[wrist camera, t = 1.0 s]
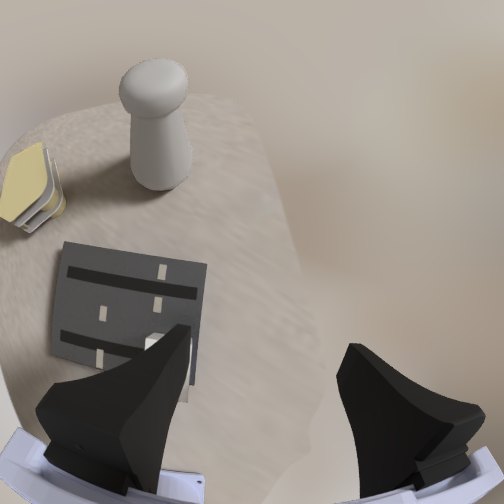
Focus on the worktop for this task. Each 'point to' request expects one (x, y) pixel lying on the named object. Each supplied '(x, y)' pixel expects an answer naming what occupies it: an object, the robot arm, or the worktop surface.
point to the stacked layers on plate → (31, 189)
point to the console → (121, 304)
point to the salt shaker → (157, 123)
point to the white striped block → (184, 393)
